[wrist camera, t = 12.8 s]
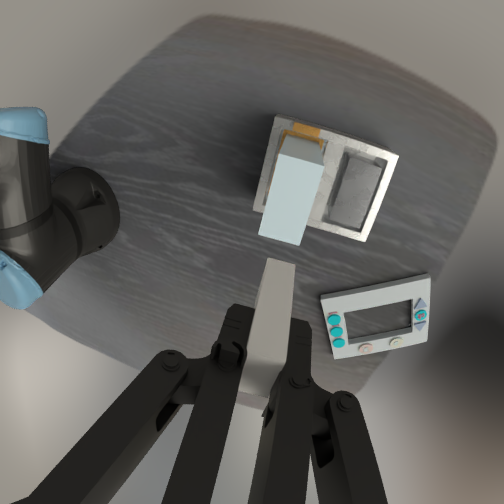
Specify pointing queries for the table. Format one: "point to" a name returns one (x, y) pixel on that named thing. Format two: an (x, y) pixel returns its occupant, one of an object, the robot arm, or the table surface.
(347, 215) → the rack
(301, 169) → the block
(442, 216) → the table surface
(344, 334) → the electronic device
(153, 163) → the table surface
